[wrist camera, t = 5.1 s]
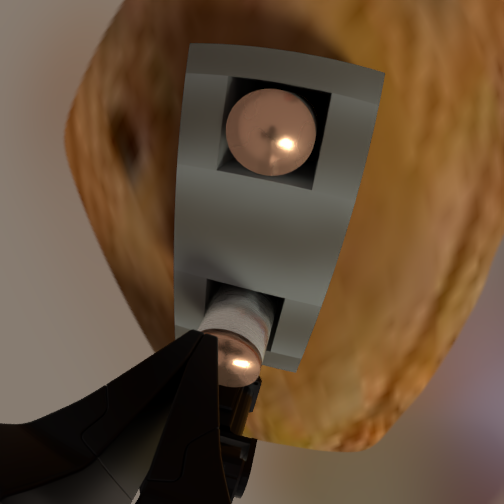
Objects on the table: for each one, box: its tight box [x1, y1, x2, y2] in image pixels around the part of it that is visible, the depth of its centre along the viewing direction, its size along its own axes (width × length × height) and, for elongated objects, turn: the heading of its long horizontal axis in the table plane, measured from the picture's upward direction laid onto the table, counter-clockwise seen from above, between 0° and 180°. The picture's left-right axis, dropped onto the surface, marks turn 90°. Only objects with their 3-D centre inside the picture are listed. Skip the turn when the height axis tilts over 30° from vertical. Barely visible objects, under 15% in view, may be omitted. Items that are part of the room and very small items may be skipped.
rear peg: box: [197, 283, 278, 387], centre depth 16 cm, size 4×4×6 cm
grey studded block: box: [174, 43, 385, 373], centre depth 17 cm, size 17×8×6 cm, turn 172°
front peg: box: [226, 89, 318, 176], centre depth 14 cm, size 4×4×6 cm
